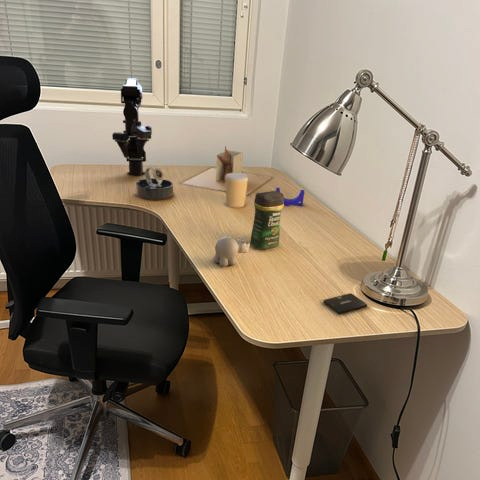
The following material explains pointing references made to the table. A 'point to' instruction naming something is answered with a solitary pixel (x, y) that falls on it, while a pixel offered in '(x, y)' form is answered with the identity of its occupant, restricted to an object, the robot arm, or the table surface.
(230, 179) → the coffee cup
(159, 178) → the watch
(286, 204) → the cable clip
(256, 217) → the coffee jar
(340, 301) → the solid state drive
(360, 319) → the table surface
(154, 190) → the bowl
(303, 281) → the table surface
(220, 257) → the chubby cartoon animal
